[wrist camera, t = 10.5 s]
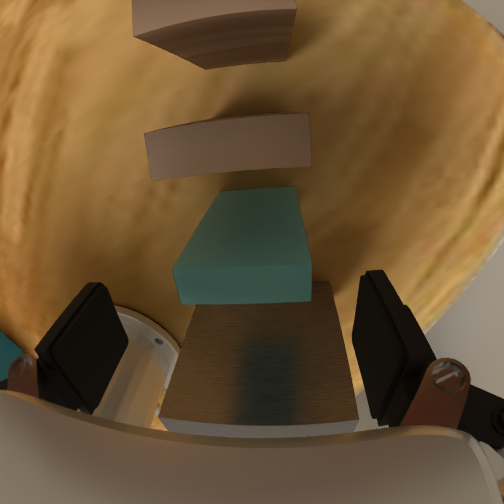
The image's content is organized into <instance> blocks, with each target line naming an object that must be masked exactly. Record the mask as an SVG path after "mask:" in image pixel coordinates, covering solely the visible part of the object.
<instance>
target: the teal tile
mask: <svg viewBox="0 0 504 504" xmlns="http://www.w3.org/2000/svg"><path fill="white" fill-rule="evenodd" d="M172 272H173V276H174V279H175V283H176V287H177V290H178V294H179V297H180V301H181V304H257V303H285V302H306V301H311V291H312V262H311V257H310V252H309V247H308V243H307V238H306V233H305V229H304V224H303V220H302V216H301V211H300V207H299V203H298V199H297V194H296V190H295V186H294V187H275V188H259V189H244V190H232V191H220V192H219V194H218V195H217V197H216V198H215V200H214V201H213V203H212V204H211V206H210V208H209V209H208V211H207V212H206V214H205V216H204V217H203V219H202V220H201V222H200V224H199V225H198V227H197V229H196V230H195V232H194V233H193V235H192V237H191V238H190V240H189V242H188V243H187V245H186V247H185V248H184V250H183V252H182V253H181V255H180V257H179V259H178V260H177V262H176V264H175V265H174V267H173V269H172Z"/></svg>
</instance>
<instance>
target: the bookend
mask: <svg viewBox="0 0 504 504" xmlns="http://www.w3.org/2000/svg"><path fill="white" fill-rule="evenodd" d="M158 417H159V419H160V420H161V422H162V423H163V424H164V426H165V427H166V428H167V430H168V431H169V432H176V433H184V434H193V435H204V436H217V437H234V438H289V437H308V436H322V435H333V434H342V433H351V432H354V430H355V427H356V425H357V423H358V421H359V417H358V410H357V405H356V399H355V393H354V388H353V383H352V378H351V373H350V368H349V363H348V358H347V353H346V348H345V344H344V339H343V335H342V331H341V326H340V322H339V318H338V313H337V309H336V305H335V301H334V297H333V293H332V289H331V286H330V282H312V291H311V301H306V302H285V303H257V304H197V305H196V308H195V310H194V313H193V316H192V319H191V321H190V324H189V327H188V330H187V333H186V336H185V338H184V341H183V344H182V347H181V350H180V353H179V356H178V359H177V361H176V364H175V367H174V370H173V373H172V376H171V379H170V382H169V385H168V388H167V391H166V394H165V397H164V400H163V403H162V406H161V410H160V413H159V416H158Z"/></svg>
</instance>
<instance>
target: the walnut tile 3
mask: <svg viewBox="0 0 504 504" xmlns="http://www.w3.org/2000/svg"><path fill="white" fill-rule="evenodd" d="M296 11H297V5H296V0H132V22H133V37H136V38H138V39H141V40H143V41H145V42H148V43H150V44H153V45H155V46H157V47H159V48H162V49H164V50H166V51H168V52H170V53H173V54H175V55H177V56H179V57H181V58H183V59H185V60H187V61H189V62H191V63H193V64H195V65H197V66H199V67H201V68H203V69H205V70H207V69H213V68H220V67H227V66H234V65H243V64H253V63H265V62H281V61H286V56H287V52H288V47H289V43H290V38H291V34H292V29H293V25H294V20H295V16H296Z"/></svg>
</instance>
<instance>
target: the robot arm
mask: <svg viewBox="0 0 504 504" xmlns="http://www.w3.org/2000/svg"><path fill="white" fill-rule="evenodd" d="M352 343H353V347H354V350H355V354H356V357H357V361H358V365H359V369H360V372H361V376H362V380H363V384H364V388H365V392H366V395H367V400H368V404H369V408H370V413H371V416H372V418H373V419H376V418H377V421H378V426H384V425H389V428H382V429H374V430H366V431H358V432H351V433H342V434H333V435H322V436H308V437H289V438H234V437H217V436H204V435H193V434H184V433H176V432H169V431H162V430H156V429H150V426H151V423H152V420H153V417H154V414H159V413H160V410H161V406H160V404H159V403H158V402H159V399H160V396H161V393H162V390H165V389H167V388H168V385H169V382H170V379H171V376H172V373H173V370H174V367H175V364H176V361H177V359H178V356H179V353H180V350H181V349H180V347H179V346H178V344H177V343H176V341H175V340H174V339H173V338H172V337H171V336H170V335H169V334H168V333H167V332H166V331H165V330H164V329H163V328H162V327H160V326H159V325H158V324H156V323H155V322H153V321H152V320H150V319H149V318H147V317H145V316H143V315H141V314H140V313H137V312H135V311H132V310H130V309H127V308H123V307H119V306H114V304H113V301H112V299H111V296H110V294H109V291H108V289H107V287H106V286H104V285H103V284H102V283H101V282H90V283H87V284H86V285H85V287H84V288H83V289H82V290H81V291H80V292H79V294H78V295H77V296H76V297H75V298H74V299H73V301H72V302H71V303H70V304H69V305H68V307H67V308H66V309H65V310H64V312H63V313H62V314H61V315H60V316H59V318H58V319H57V320H56V322H55V323H54V324H53V325H52V327H51V328H50V329H49V330H48V332H47V333H46V334H45V336H44V337H43V338H42V340H41V341H40V342H39V344H38V345H37V346H36V348H35V349H34V350H35V351H36V353H37V354H38V356H39V358H38V359H36V358H35V356H34V355H33V354H30V353H26V354H22V355H20V356H18V357H17V358H16V359H15V360H14V361H13V362H12V363H11V365H10V367H9V370H8V378H6V379H4V380H2V381H0V504H504V399H503V398H501V397H498V396H496V395H494V394H491V393H489V392H487V391H484V390H482V389H480V388H477V387H475V386H473V385H471V384H470V383H471V377H470V373H469V371H468V369H467V368H466V367H465V366H464V365H463V364H462V363H461V362H459V361H457V360H455V359H451V358H440V359H436V357H435V355H434V353H433V351H432V349H431V347H430V345H429V343H428V341H427V339H426V338H425V335H424V333H423V332H422V330H421V328H420V326H419V324H418V322H417V321H416V319H415V317H414V315H413V314H412V312H411V310H410V308H409V307H408V306H407V305H403V303H402V301H401V299H400V298H399V296H398V294H397V292H396V291H395V289H394V287H393V286H392V284H391V282H390V281H389V279H388V277H387V276H386V274H385V272H384V271H383V270H371V271H366V273H365V275H362V276H361V277H360V283H359V291H358V298H357V305H356V312H355V319H354V325H353V331H352Z"/></svg>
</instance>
